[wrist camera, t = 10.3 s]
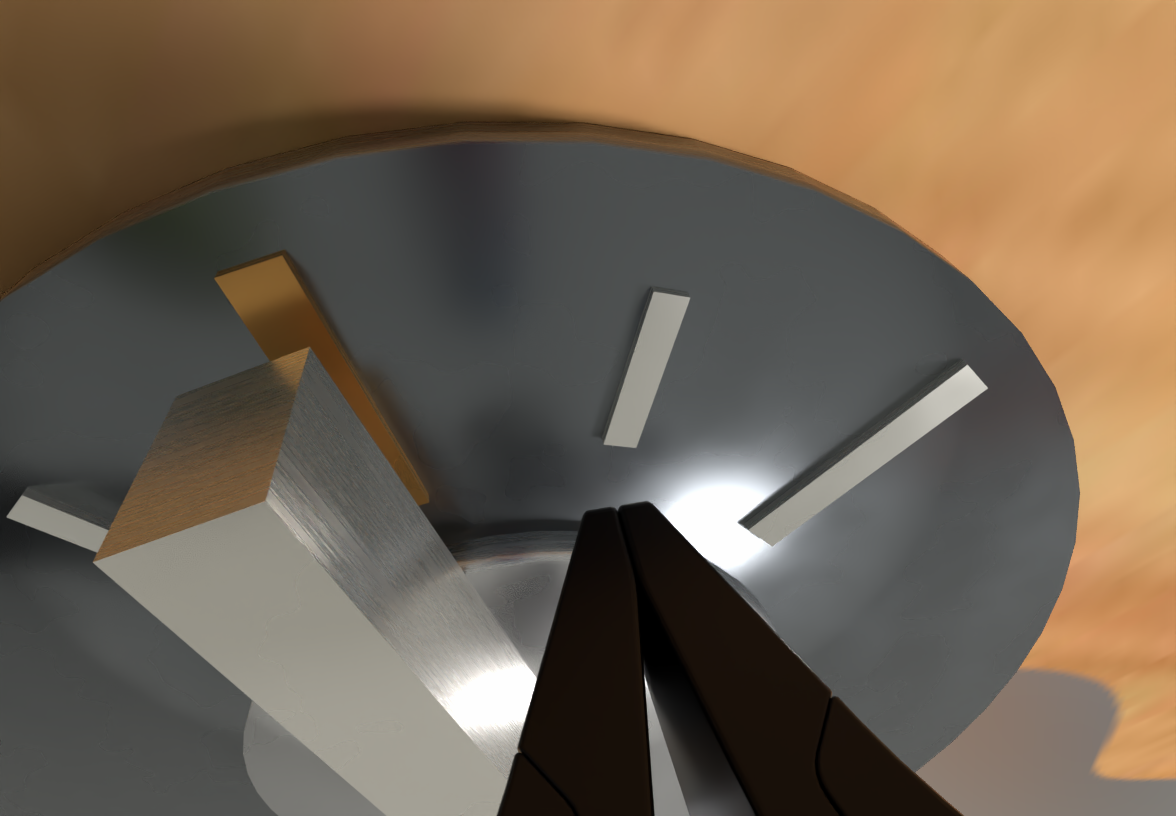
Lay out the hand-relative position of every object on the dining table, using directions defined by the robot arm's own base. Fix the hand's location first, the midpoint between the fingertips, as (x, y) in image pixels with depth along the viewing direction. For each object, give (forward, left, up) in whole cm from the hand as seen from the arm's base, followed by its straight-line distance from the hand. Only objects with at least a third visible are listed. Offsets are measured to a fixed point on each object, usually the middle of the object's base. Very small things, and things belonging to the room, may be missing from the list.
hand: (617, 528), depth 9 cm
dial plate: (-8, -5, -5) cm, 10 cm away
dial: (-6, -3, -3) cm, 8 cm away
